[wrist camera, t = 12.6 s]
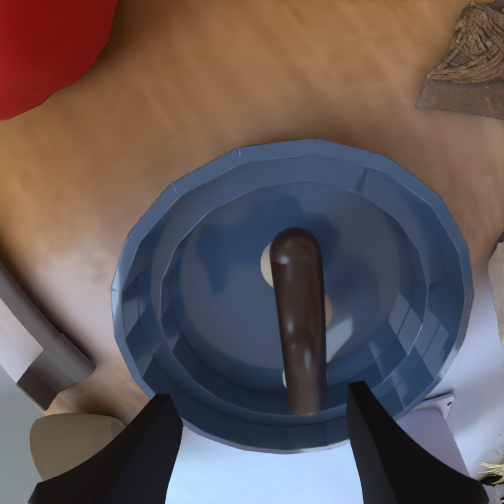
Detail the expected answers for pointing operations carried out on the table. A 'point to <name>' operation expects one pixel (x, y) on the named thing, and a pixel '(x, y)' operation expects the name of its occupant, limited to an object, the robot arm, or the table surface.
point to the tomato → (48, 47)
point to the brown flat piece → (471, 65)
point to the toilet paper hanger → (55, 344)
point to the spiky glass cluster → (500, 467)
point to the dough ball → (266, 265)
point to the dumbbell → (501, 490)
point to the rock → (498, 283)
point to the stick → (301, 317)
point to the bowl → (263, 299)
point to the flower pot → (69, 440)
